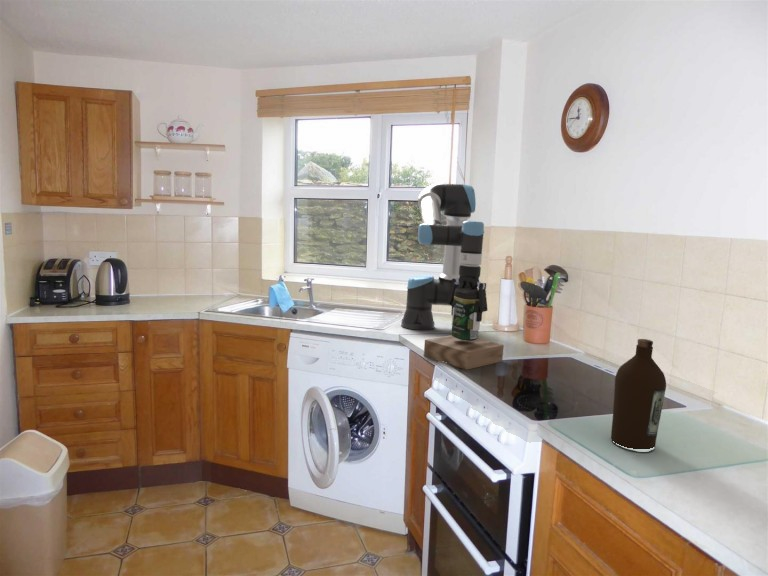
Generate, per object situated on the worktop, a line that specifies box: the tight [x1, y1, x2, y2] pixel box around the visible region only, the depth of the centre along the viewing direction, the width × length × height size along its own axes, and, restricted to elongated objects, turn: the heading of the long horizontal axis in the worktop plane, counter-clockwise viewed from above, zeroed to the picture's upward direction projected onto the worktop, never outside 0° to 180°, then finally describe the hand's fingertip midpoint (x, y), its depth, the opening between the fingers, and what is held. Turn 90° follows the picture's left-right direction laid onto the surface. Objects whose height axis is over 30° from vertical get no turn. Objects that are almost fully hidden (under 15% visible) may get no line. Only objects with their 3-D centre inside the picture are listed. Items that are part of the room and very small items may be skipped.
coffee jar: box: [450, 287, 479, 341], centre depth 189 cm, size 10×8×19 cm
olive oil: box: [610, 338, 667, 449], centre depth 123 cm, size 11×11×25 cm
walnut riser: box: [423, 335, 504, 371], centre depth 191 cm, size 20×20×6 cm
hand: (465, 327), depth 190 cm, fingers closed on coffee jar, 9 cm apart
